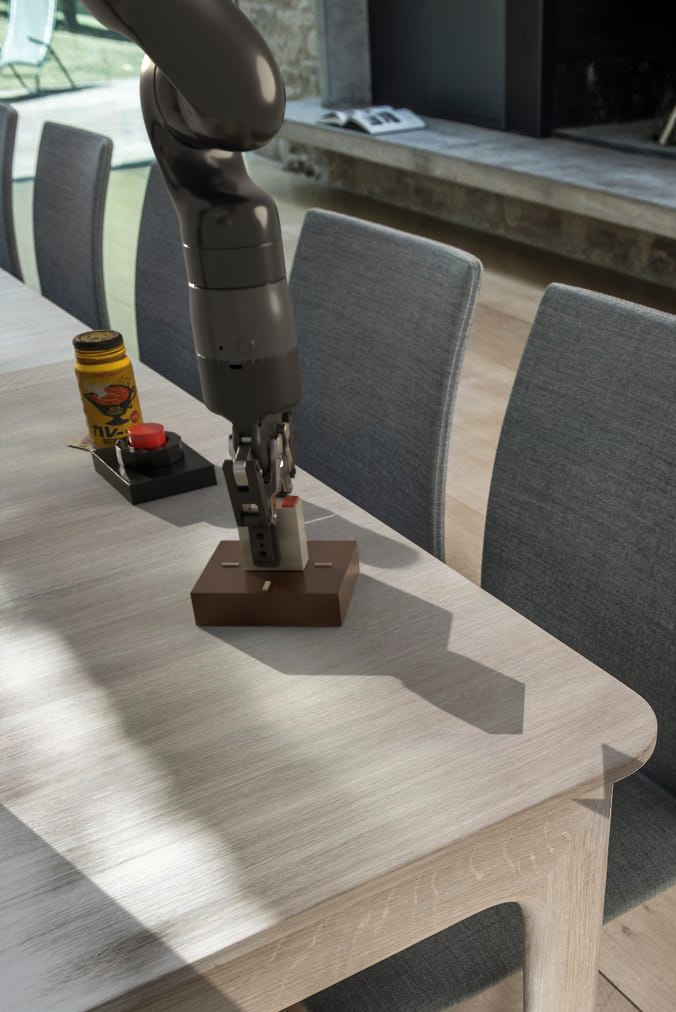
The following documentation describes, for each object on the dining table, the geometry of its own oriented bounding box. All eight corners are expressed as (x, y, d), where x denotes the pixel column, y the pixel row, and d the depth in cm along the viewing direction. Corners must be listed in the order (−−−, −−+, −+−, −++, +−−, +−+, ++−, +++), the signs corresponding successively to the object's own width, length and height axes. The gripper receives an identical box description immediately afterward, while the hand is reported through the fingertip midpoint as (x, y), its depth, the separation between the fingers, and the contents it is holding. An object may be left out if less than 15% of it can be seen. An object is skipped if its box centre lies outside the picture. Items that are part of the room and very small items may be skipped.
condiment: (117, 457, 126) (94, 347, 119) (64, 445, 130) (38, 337, 123) (164, 437, 131) (145, 330, 125) (112, 425, 135) (90, 321, 128)
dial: (243, 570, 95) (233, 505, 92) (250, 559, 97) (240, 494, 93) (303, 570, 94) (295, 505, 91) (308, 559, 96) (301, 494, 93)
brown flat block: (195, 625, 93) (189, 591, 92) (225, 571, 102) (220, 538, 100) (341, 626, 93) (338, 591, 91) (360, 571, 101) (357, 538, 99)
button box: (95, 470, 123) (86, 434, 121) (175, 452, 127) (168, 416, 125) (133, 506, 115) (125, 467, 112) (217, 485, 119) (211, 447, 116)
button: (126, 443, 119) (122, 427, 118) (159, 436, 121) (156, 420, 120) (138, 453, 117) (134, 436, 116) (171, 446, 118) (168, 429, 117)
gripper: (220, 317, 92) (249, 516, 101) (169, 371, 80) (207, 591, 89) (313, 316, 91) (334, 516, 101) (276, 370, 79) (303, 591, 89)
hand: (274, 550), depth 95 cm, fingers open, 4 cm apart
